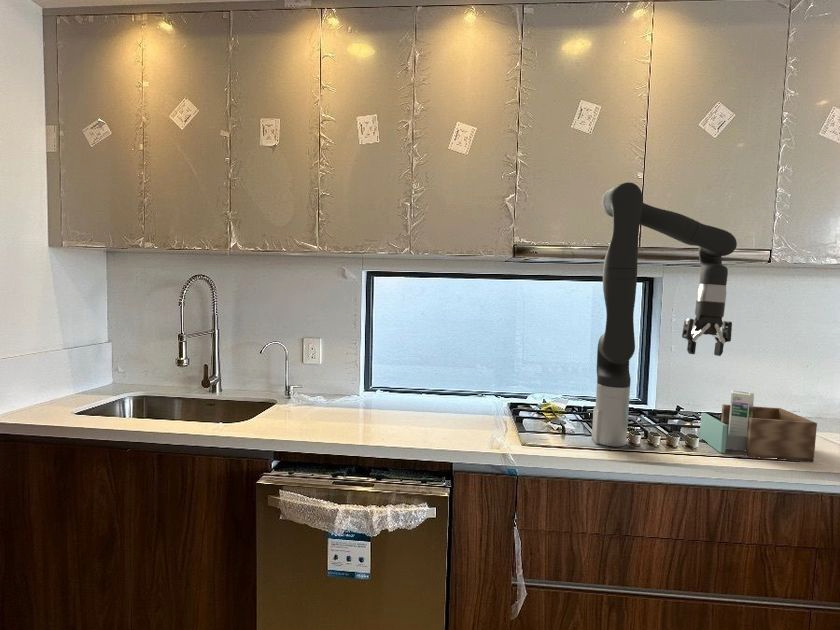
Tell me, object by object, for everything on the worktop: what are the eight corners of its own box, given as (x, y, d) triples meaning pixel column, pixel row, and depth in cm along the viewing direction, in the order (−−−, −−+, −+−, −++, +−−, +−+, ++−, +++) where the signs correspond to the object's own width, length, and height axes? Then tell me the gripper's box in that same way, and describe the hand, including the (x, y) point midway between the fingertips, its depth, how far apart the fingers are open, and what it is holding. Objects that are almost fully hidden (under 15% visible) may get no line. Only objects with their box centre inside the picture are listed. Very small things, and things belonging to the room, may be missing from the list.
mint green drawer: (720, 452, 152) (722, 425, 151) (699, 437, 166) (701, 412, 166) (772, 456, 150) (774, 428, 150) (746, 441, 165) (748, 415, 164)
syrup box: (727, 440, 157) (731, 392, 156) (727, 436, 162) (731, 389, 161) (750, 444, 154) (754, 395, 153) (749, 439, 159) (753, 391, 158)
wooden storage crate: (748, 457, 149) (751, 418, 149) (719, 439, 167) (722, 404, 167) (813, 462, 148) (817, 423, 147) (777, 443, 165) (780, 408, 165)
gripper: (723, 301, 162) (717, 354, 163) (680, 297, 160) (674, 351, 161) (741, 302, 155) (735, 358, 156) (697, 299, 153) (690, 355, 154)
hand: (704, 354), depth 158 cm, fingers open, 8 cm apart
